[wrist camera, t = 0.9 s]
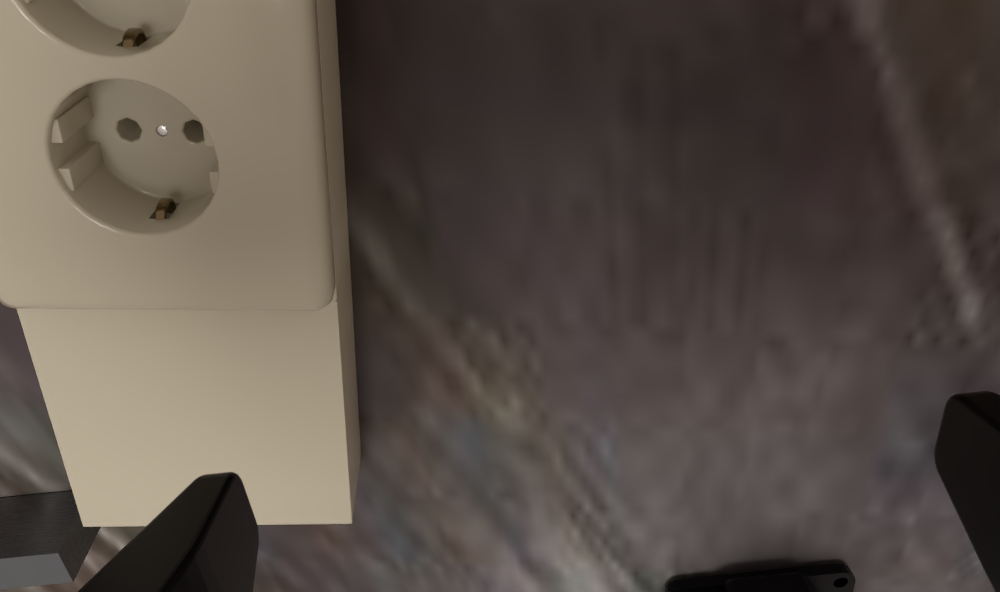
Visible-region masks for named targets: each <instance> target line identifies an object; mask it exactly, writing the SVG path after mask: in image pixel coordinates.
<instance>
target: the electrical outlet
mask: <svg viewBox="0 0 1000 592" xmlns="http://www.w3.org/2000/svg"><path fill="white" fill-rule="evenodd" d="M0 302H1V303H2V304H3V305H5V306H7V307H10V308H16V309H17V311H18V315H19V318H20V321H21V325H22V328H23V331H24V334H25V338H26V341H27V344H28V347H29V351H30V354H31V357H32V361H33V364H34V367H35V370H36V374H37V377H38V380H39V384H40V387H41V390H42V393H43V397H44V400H45V403H46V406H47V410H48V413H49V416H50V420H51V423H52V426H53V429H54V433H55V436H56V439H57V442H58V446H59V449H60V452H61V456H62V459H63V462H64V465H65V469H66V472H67V475H68V478H69V482H70V485H71V488H72V492H73V495H74V498H75V501H76V505H77V508H78V511H79V515H80V518H81V521H82V524H83V527H106V526H147V525H148V524H149V523H150V522H151V521H152V520H153V519H154V518H155V517H156V516H157V515H158V514H159V513H160V512H161V511H163V510H164V509H165V508H166V507H167V506H168V505H169V504H170V503H171V502H172V501H173V500H174V499H175V498H176V497H177V496H178V495H179V494H180V493H181V492H182V491H183V490H184V489H185V488H187V487H188V486H189V485H190V484H191V483H192V482H193V481H194V480H195V479H196V478H198V477H199V476H202V475H205V474H214V473H224V472H234V473H236V474H238V475H239V477H240V478H241V480H242V482H243V485H244V487H245V490H246V493H247V496H248V499H249V502H250V505H251V508H252V510H253V513H254V516H255V519H256V522H257V525H277V524H352V520H353V513H354V505H355V498H356V490H357V483H358V475H359V468H360V460H361V448H360V430H359V412H358V395H357V377H356V359H355V341H354V324H353V306H352V288H351V271H350V253H349V235H348V218H347V200H346V182H345V165H344V147H343V129H342V112H341V94H340V76H339V58H338V41H337V23H336V5H335V0H0Z"/></svg>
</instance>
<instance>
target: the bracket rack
mask: <svg viewBox="0 0 1000 592" xmlns="http://www.w3.org/2000/svg"><path fill="white" fill-rule="evenodd" d="M99 529H100V527H83V524H82V521H81V518H80V515H79V511H78V508H77V505H76V501H75V498H74V495H73V492H72V491H66V492H56V493H46V494H36V495H26V496H16V497H6V498H0V589H9V588H19V587H29V586H39V585H49V584H59V583H69V582H73V581H74V579H75V577H76V575H77V573H78V571H79V569H80V567H81V565H82V563H83V561H84V559H85V557H86V555H87V553H88V551H89V549H90V547H91V545H92V543H93V541H94V539H95V537H96V535H97V533H98V531H99Z"/></svg>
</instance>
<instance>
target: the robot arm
mask: <svg viewBox="0 0 1000 592" xmlns="http://www.w3.org/2000/svg"><path fill="white" fill-rule="evenodd" d="M935 464H936V467H937V471H938V473H939V475H940V477H941V480H942V482H943V484H944V486H945V488H946V490H947V492H948V494H949V496H950V499H951V501H952V503H953V505H954V507H955V509H956V511H957V513H958V515H959V518H960V520H961V522H962V524H963V526H964V528H965V530H966V532H967V534H968V537H969V539H970V541H971V543H972V545H973V547H974V549H975V551H976V553H977V556H978V558H979V560H980V562H981V564H982V566H983V568H984V570H985V572H986V574H987V576H988V578H989V580H990V582H991V584H992V586H993V588H994V590H995V592H1000V395H998V394H996V393H993V392H989V391H980V392H971V393H962V394H956V395H953V396H951V397H950V398H949V400H948V401H947V402H946V405H945V409H944V413H943V417H942V421H941V425H940V429H939V433H938V437H937V442H936V446H935ZM258 544H259V534H258V526H257V522H256V519H255V516H254V513H253V510H252V508H251V505H250V502H249V499H248V496H247V493H246V490H245V487H244V485H243V482H242V480H241V478H240V477H239V475H238V474H236V473H234V472H224V473H214V474H205V475H202V476H199V477H198V478H196V479H195V480H194V481H193V482H192V483H191V484H190V485H189V486H188V487H187V488H185V489H184V490H183V491H182V492H181V493H180V494H179V495H178V496H177V497H176V498H175V499H174V500H173V501H172V502H171V503H170V504H169V505H168V506H167V507H166V508H165V509H164V510H163V511H161V512H160V513H159V514H158V515H157V516H156V517H155V518H154V519H153V520H152V521H151V522H150V523H149V524H148V525H147V526H146V527H145V528H144V529H143V530H142V531H141V532H140V533H139V534H137V535H136V536H135V537H134V538H133V539H132V540H131V541H130V542H129V543H128V544H127V545H126V546H125V547H124V548H123V549H122V550H121V551H120V552H119V553H118V554H117V555H116V556H114V557H113V558H112V559H111V560H110V561H109V562H108V563H107V564H106V565H105V566H104V567H103V568H102V569H101V570H100V571H99V572H98V573H97V574H96V575H95V576H94V577H93V578H92V579H90V580H89V581H88V582H87V583H86V584H85V585H84V586H83V587H82V588H81V589H80V590H79V591H78V592H253V588H254V579H255V570H256V562H257V553H258ZM854 584H855V577H854V575H853V573H852V571H851V570H850V568H849V567H848V566H847V565H845V564H829V565H819V566H809V567H799V568H789V569H779V570H769V571H759V572H749V573H739V574H729V575H719V576H709V577H699V578H689V579H680V580H675V581H673V582H671V583H670V584H669V585H668V586H667V587H666V591H665V592H853V589H854Z"/></svg>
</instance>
